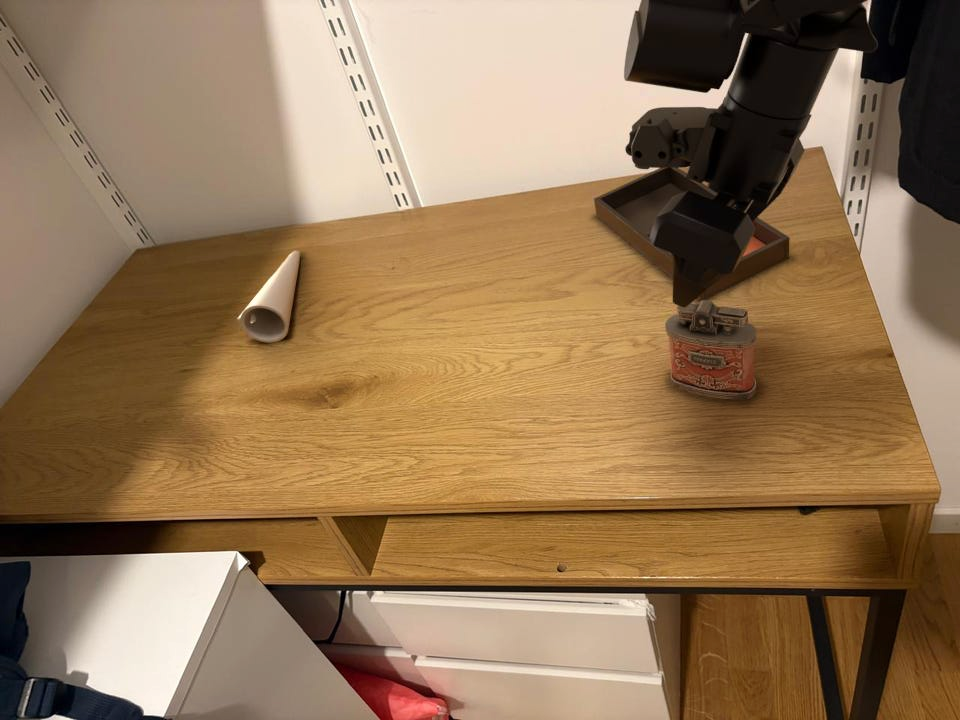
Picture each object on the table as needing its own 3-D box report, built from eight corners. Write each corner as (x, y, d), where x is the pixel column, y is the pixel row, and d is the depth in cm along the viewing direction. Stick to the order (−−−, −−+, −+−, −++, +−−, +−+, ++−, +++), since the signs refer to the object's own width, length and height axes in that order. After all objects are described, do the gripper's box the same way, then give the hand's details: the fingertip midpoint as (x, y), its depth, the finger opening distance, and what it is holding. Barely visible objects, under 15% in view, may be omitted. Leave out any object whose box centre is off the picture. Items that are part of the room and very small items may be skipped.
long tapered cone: (338, 259, 109) (296, 337, 94) (301, 269, 111) (254, 347, 96) (320, 225, 106) (273, 300, 91) (282, 237, 108) (231, 311, 93)
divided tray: (672, 182, 99) (670, 162, 97) (789, 258, 83) (789, 237, 81) (596, 217, 98) (593, 198, 96) (700, 302, 81) (699, 282, 79)
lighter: (666, 389, 73) (657, 313, 67) (676, 365, 75) (669, 289, 69) (751, 404, 69) (751, 325, 63) (759, 379, 71) (760, 299, 65)
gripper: (703, 27, 60) (651, 194, 71) (608, 108, 48) (563, 293, 59) (841, 71, 56) (764, 239, 67) (776, 170, 44) (695, 354, 55)
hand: (698, 276), depth 62 cm, fingers open, 9 cm apart
